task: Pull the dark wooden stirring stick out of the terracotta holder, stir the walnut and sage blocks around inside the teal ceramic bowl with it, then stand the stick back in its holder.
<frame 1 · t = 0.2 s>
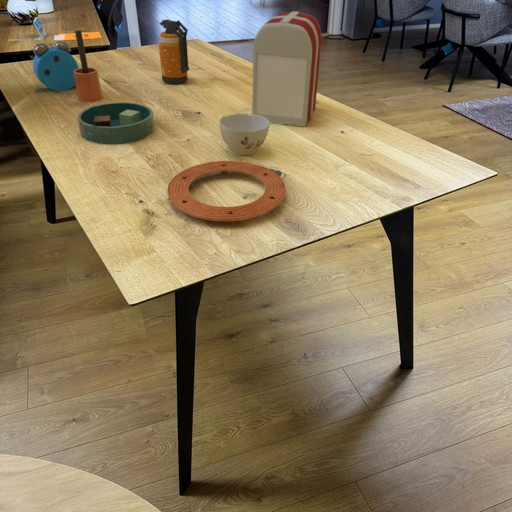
alarm clock: (61, 90, 160), on the table
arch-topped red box: (284, 114, 145), on the table
holder: (90, 99, 153), on the table
canister: (177, 82, 170), on the table
walnut block: (104, 133, 129), point 1 cm above the table, touching bowl
sage block: (131, 126, 133), point 1 cm above the table, touching bowl
ring: (227, 196, 103), on the table
teacup: (243, 150, 124), on the table
bowl: (118, 131, 131), on the table
stick: (90, 98, 152), resting on holder
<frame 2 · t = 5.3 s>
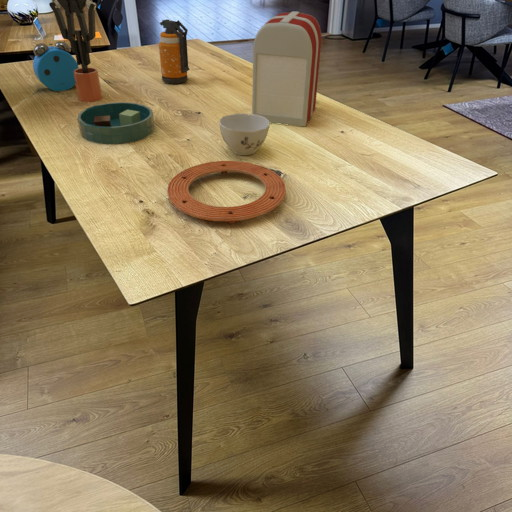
hand: (84, 63, 146), 11 cm above the table, tool pointing down, fingers closed on stick, 2 cm apart
stick: (90, 98, 152), point 1 cm above the table, touching gripper
everything else where it was.
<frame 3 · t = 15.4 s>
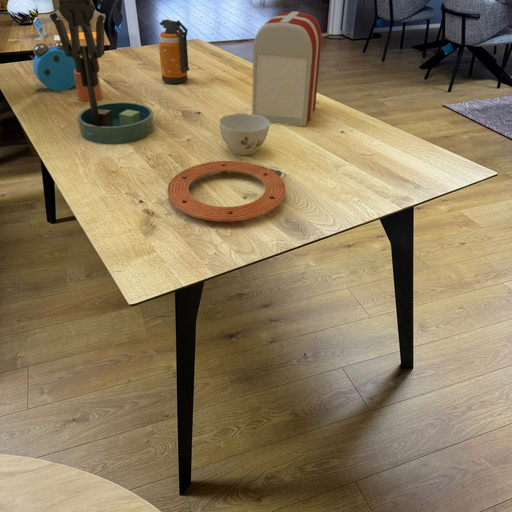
hand: (90, 84, 124), 12 cm above the table, tool pointing down, fingers closed on stick, 2 cm apart
walnut block: (103, 126, 133), point 1 cm above the table, touching stick
stick: (96, 124, 130), point 2 cm above the table, touching gripper, walnut block
everything else where it was.
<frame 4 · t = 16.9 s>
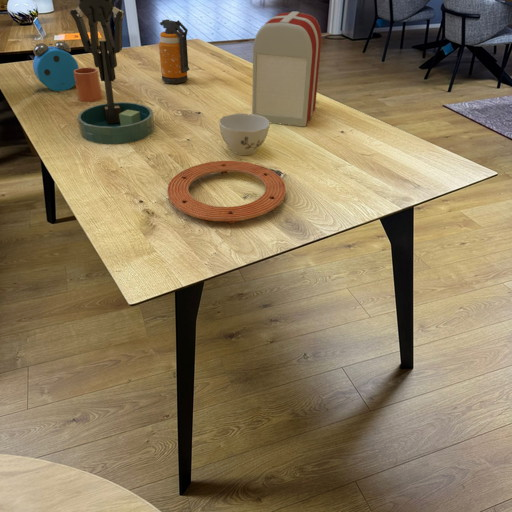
hand: (108, 79, 128), 13 cm above the table, tool pointing down, fingers closed on stick, 2 cm apart
walnut block: (114, 121, 136), point 1 cm above the table, tilted 6°, touching bowl
stick: (112, 119, 133), point 2 cm above the table, tilted 7°, touching gripper
everything else where it was.
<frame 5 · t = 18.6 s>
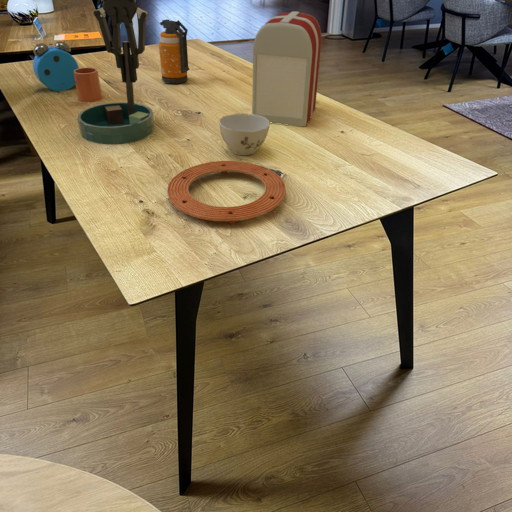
hand: (129, 80, 127), 13 cm above the table, tool pointing down, fingers closed on stick, 2 cm apart
walnut block: (115, 121, 136), point 1 cm above the table, touching bowl
sage block: (141, 129, 132), point 1 cm above the table, touching bowl, stick
stick: (132, 120, 132), point 2 cm above the table, tilted 6°, touching gripper, sage block
everything else where it was.
when the fingers open (11 cm above the table, at t = 26.5 s): stick stays where it is, resting on holder.
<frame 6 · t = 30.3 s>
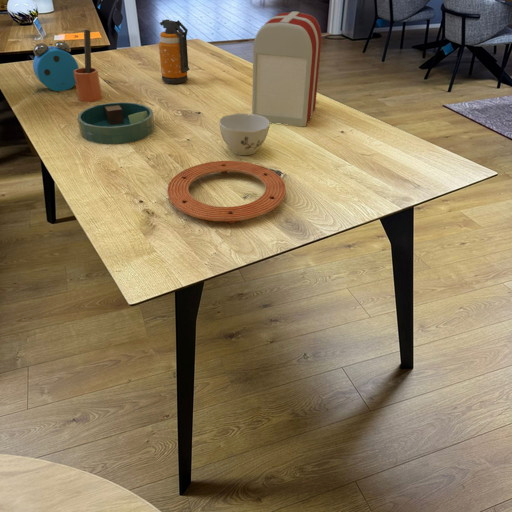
sage block: (132, 122, 130), point 3 cm above the table, tilted 75°, touching bowl
stick: (89, 98, 151), point 1 cm above the table, tilted 24°, touching holder
everything else where it was.
at the end: walnut block moved 8.5 cm from its start; walnut block inside the target area in the bowl (6.4 cm from its centre), point 0.6 cm above the bowl's base; stick 1.6 cm off-centre in the holder, point 0.9 cm above the holder's base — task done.
